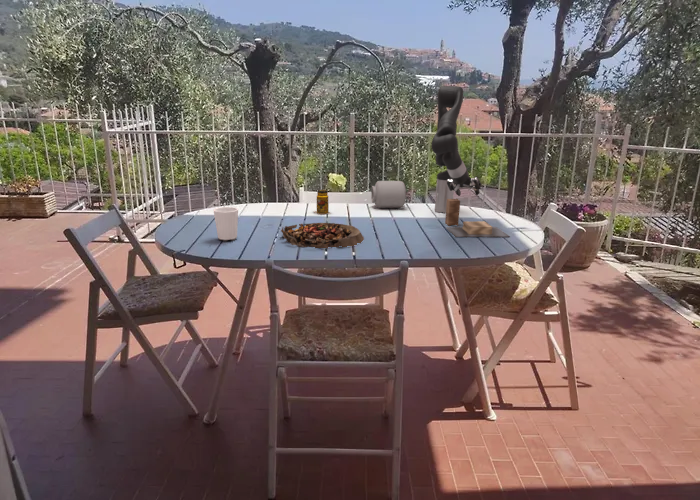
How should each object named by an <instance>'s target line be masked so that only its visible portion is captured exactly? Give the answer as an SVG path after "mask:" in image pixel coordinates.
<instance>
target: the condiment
mask: <svg viewBox="0 0 700 500" xmlns="http://www.w3.org/2000/svg"><path fill="white" fill-rule="evenodd" d="M328 193H329V192H328V190H327V189H317V194H316V210H313V212H314V213H315V214H316V215H318V216H319V214H320V215H331V214H332V213H331V212H330V211H329V194H328Z"/></svg>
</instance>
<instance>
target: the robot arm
mask: <svg viewBox="0 0 700 500" xmlns="http://www.w3.org/2000/svg"><path fill="white" fill-rule="evenodd" d="M462 87H463V86H462ZM462 87H461V86H458V85H457V86H456V85H442V86H440V87H439V89H438V91H437V124H436V125H437V126H436V127H437V128H436V133H435V134H434V136H433V138H432V140H431V143H430V144H431V150H432V152H433V153H434V154H435V164H436V165H437V166H439V167H446V170H445V171H440V172H438V173H437V175H436V188H435V201H434V212H435V213H441V212H443V213H444V214H446V205H447V199H454V195H455V194H456V195H457V196H458V197H460V196H461V194H462V191H461V190H460V188H468V189H469V190H473V191H474V193H475V195H476V196H479V194H480V190H481V187H482V183H481V181H480V179H479V177H478V176H474V177H473V178H472V177H470V174H469V172H468V169H467V167H466V165H465V163H464V161H463V160H462V158H461V155H460V153H459V143H458V137H457V129H458V128H457V127H458V125H457V120H458V119H459V114H460V111H461V108H462V105H463V101H464V89H463V88H462ZM454 193H455V194H454Z"/></svg>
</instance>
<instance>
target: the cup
mask: <svg viewBox="0 0 700 500" xmlns="http://www.w3.org/2000/svg"><path fill="white" fill-rule="evenodd" d="M213 217H214V220H215V227H216V233H217V239H218V241H223V242H228V241H232V242H234V241H235V240H237V238H238V225H239V224H238V221H239V209H238V208H237V207H233V206H221V207H217V208H214V209H213Z"/></svg>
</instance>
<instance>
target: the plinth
mask: <svg viewBox="0 0 700 500" xmlns="http://www.w3.org/2000/svg"><path fill="white" fill-rule="evenodd" d="M445 229H446V230H447V231H448V232H449V233H450V234H451V233H452V234H453V235H454V236H455V237H454V236H453V237H454V238H456V237H466V238H467V237H487V238H510V237H511V236H510V235H509V234H507V233H506V232H504V231H503V230H502V229H500V228H498V227H497V226H492V225H491V224H489V223H488V222H486V221H481V220H479V221H474V220H473V221H468V220H467V221H462V226H446V227H445ZM452 234H451V235H452ZM467 239H468V238H467Z"/></svg>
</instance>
